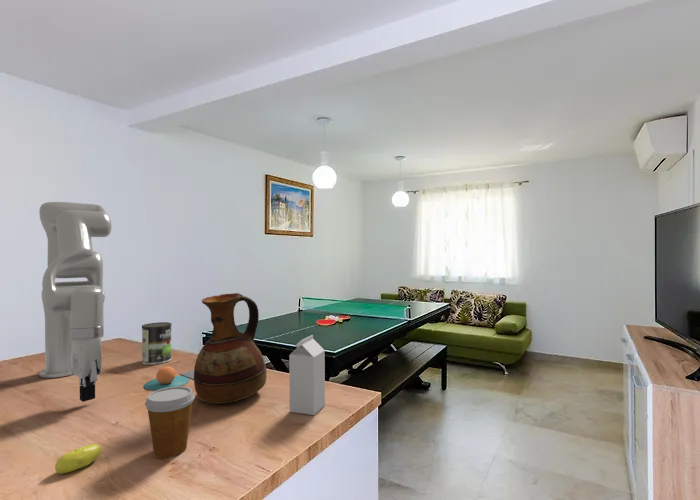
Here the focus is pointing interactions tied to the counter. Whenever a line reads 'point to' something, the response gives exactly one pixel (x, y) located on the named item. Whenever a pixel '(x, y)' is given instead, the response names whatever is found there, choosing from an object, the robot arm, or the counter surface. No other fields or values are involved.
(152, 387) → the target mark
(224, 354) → the ceramic pitcher
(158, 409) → the disposable coffee cup
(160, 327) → the coffee can
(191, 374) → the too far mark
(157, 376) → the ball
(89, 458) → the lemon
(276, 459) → the counter surface
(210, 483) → the counter surface
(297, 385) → the milk carton
